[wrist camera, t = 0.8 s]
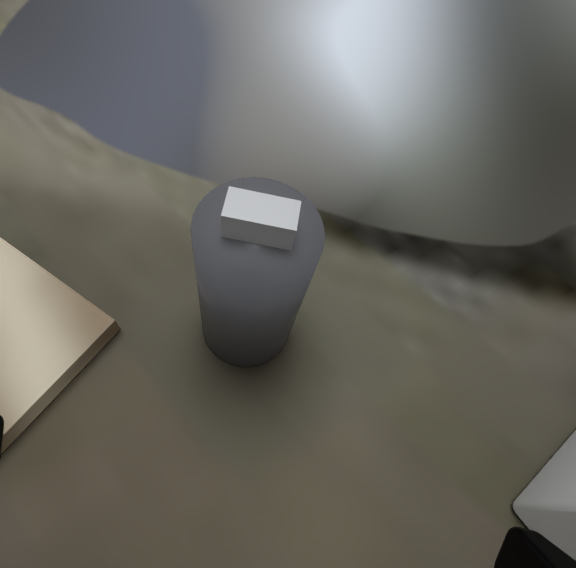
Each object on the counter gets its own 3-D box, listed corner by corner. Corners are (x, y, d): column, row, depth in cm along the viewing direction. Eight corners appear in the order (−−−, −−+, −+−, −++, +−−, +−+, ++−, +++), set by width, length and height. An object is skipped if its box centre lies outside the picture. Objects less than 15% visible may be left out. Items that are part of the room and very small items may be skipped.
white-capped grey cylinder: (282, 374, 21) (325, 285, 12) (193, 357, 21) (170, 254, 12) (294, 294, 23) (338, 169, 14) (213, 279, 23) (207, 141, 14)
